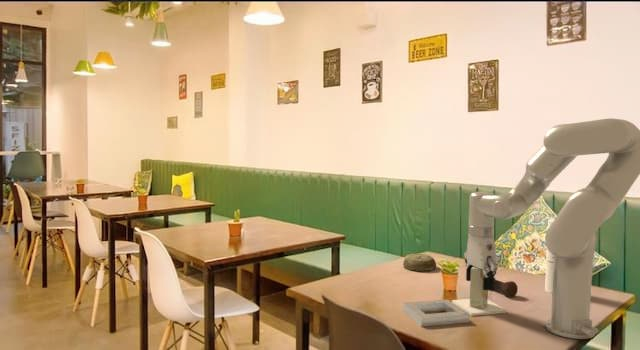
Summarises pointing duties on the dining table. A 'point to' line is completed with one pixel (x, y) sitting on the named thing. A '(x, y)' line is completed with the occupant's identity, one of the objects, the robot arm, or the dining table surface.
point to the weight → (419, 262)
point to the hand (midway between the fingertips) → (479, 284)
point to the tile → (488, 309)
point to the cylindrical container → (549, 266)
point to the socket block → (450, 317)
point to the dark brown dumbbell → (505, 287)
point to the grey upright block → (477, 288)
